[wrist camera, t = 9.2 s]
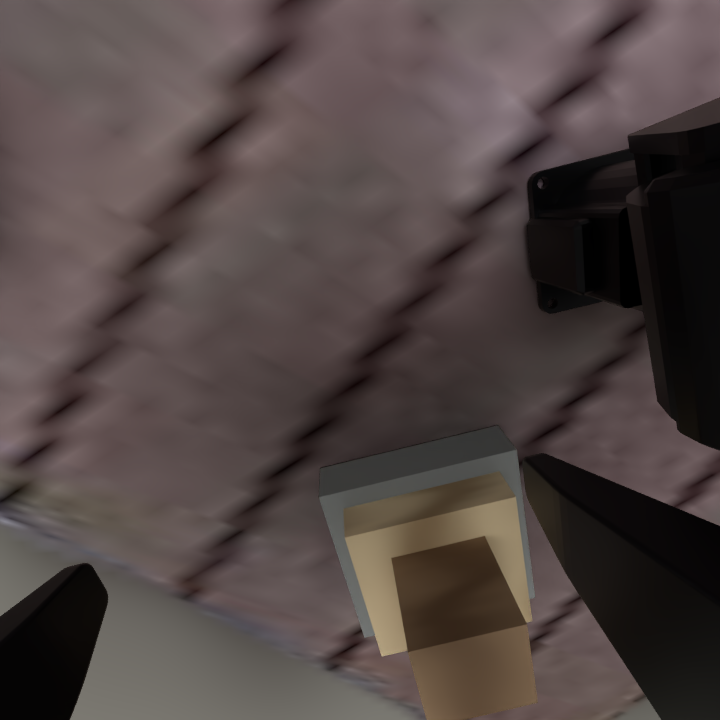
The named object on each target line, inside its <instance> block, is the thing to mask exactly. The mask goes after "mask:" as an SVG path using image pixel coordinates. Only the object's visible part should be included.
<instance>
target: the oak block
mask: <svg viewBox="0 0 720 720" xmlns="http://www.w3.org/2000/svg"><path fill="white" fill-rule="evenodd" d="M343 511H344V534H345V540H346V544H347V547H348V550H349V553H350V556H351V560H352V563H353V566H354V569H355V572H356V576H357V579H358V582H359V585H360V588H361V592H362V595H363V598H364V601H365V604H366V608H367V611H368V614H369V617H370V620H371V623H372V627H373V630H374V633H375V636H376V639H377V643H378V646H379V649H380V652H381V655H382V656H386V655H390V654H395V653H399V652H403V651H408V650H407V644H406V639H405V633H404V627H403V622H402V616H401V610H400V605H399V599H398V593H397V588H396V582H395V576H394V571H393V565H392V559H391V558H394V557H398V556H402V555H406V554H410V553H415V552H419V551H423V550H427V549H432V548H436V547H440V546H444V545H448V544H453V543H457V542H461V541H465V540H469V539H474V538H478V537H482V536H485V538H486V540H487V542H488V544H489V546H490V548H491V550H492V552H493V554H494V556H495V558H496V561H497V563H498V565H499V567H500V569H501V571H502V573H503V575H504V577H505V579H506V581H507V584H508V586H509V588H510V590H511V592H512V594H513V596H514V598H515V600H516V602H517V604H518V607H519V609H520V611H521V613H522V615H523V617H524V619H525V621H526V623H527V622H531V621H532V616H531V608H530V601H529V593H528V586H527V578H526V570H525V563H524V555H523V547H522V540H521V532H520V524H519V517H518V509H517V501H516V496H515V495H514V493H513V492H512V490H511V489H510V487H509V485H508V484H507V482H506V481H505V479H504V478H503V476H502V475H501V473H500V472H499V471H498V472H494V473H490V474H486V475H482V476H478V477H473V478H469V479H465V480H461V481H457V482H453V483H449V484H444V485H440V486H436V487H432V488H428V489H424V490H419V491H415V492H411V493H407V494H403V495H399V496H394V497H390V498H386V499H382V500H378V501H374V502H369V503H365V504H361V505H357V506H353V507H349V508H344V509H343Z"/></svg>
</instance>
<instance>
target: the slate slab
mask: <svg viewBox="0 0 720 720" xmlns="http://www.w3.org/2000/svg"><path fill="white" fill-rule="evenodd" d="M498 471H499V472H500V473H501V475H502V476H503V478H504V479H505V481H506V482H507V484H508V485H509V487H510V489H511V490H512V492H513V493H514V495H515V496H516V501H517V509H518V517H519V524H520V532H521V540H522V547H523V555H524V563H525V570H526V578H527V586H528V593H529V599H531V598H535V593H534V585H533V577H532V569H531V561H530V552H529V544H528V536H527V528H526V520H525V512H524V504H523V496H522V488H521V480H520V472H519V464H518V456H517V449H516V448H515V447H514V446H513V444H512V443H511V442H510V440H509V439H508V438H507V437H506V435H505V434H504V433H503V432H502V430H501V429H500V428H499V426H498V425H497V426H493V427H489V428H485V429H481V430H477V431H472V432H468V433H464V434H460V435H456V436H452V437H448V438H443V439H439V440H435V441H431V442H427V443H423V444H419V445H415V446H410V447H406V448H402V449H398V450H394V451H390V452H386V453H381V454H377V455H373V456H369V457H365V458H361V459H357V460H353V461H348V462H344V463H340V464H336V465H332V466H328V467H324V468H320V479H319V500H320V503H321V506H322V509H323V512H324V515H325V518H326V521H327V524H328V527H329V530H330V533H331V536H332V539H333V542H334V546H335V549H336V552H337V555H338V558H339V561H340V564H341V567H342V570H343V573H344V576H345V579H346V582H347V585H348V588H349V592H350V595H351V598H352V601H353V604H354V607H355V610H356V613H357V616H358V619H359V622H360V625H361V628H362V631H363V634H364V638H365V637H370V636H374V635H375V633H374V630H373V627H372V623H371V620H370V617H369V614H368V611H367V608H366V604H365V601H364V598H363V595H362V592H361V588H360V585H359V582H358V579H357V576H356V572H355V569H354V566H353V563H352V560H351V556H350V553H349V550H348V547H347V544H346V540H345V534H344V511H343V509H344V508H349V507H353V506H357V505H361V504H365V503H369V502H374V501H378V500H382V499H386V498H390V497H394V496H399V495H403V494H407V493H411V492H415V491H419V490H424V489H428V488H432V487H436V486H440V485H444V484H449V483H453V482H457V481H461V480H465V479H469V478H473V477H478V476H482V475H486V474H490V473H494V472H498Z"/></svg>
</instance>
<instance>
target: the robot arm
mask: <svg viewBox="0 0 720 720" xmlns="http://www.w3.org/2000/svg"><path fill="white" fill-rule="evenodd" d="M628 142H629V149H626V150H622V151H618V152H614V153H610V154H606V155H602V156H598V157H594V158H590V159H586V160H582V161H578V162H574V163H570V164H566V165H562V166H559V167H555V168H551V169H547V170H543V171H539V172H536V173H534V174H533V175H532V176H531V177H530V179H529V181H528V192H529V203H530V215H531V220H530V221H529V223H528V225H527V231H528V242H529V253H530V263H531V274H532V277H533V278H534V279H535V280H536V281H537V292H538V303H539V307H540V309H541V310H542V311H544V312H547V313H549V314H551V313H557V312H561V311H565V310H569V309H573V308H577V307H582V306H586V305H590V304H594V303H598V302H602V301H605V302H608V303H611V304H614V305H617V306H620V307H623V308H634V309H637V310H640V311H643V313H644V319H645V325H646V332H647V338H648V344H649V351H650V357H651V364H652V370H653V376H654V383H655V389H656V395H657V402H658V403H659V404H660V405H661V406H662V407H663V409H664V410H665V411H666V412H667V413H668V415H669V416H670V417H671V418H672V419H674V420H675V421H676V423H677V430H678V431H679V432H680V433H682V434H684V435H686V436H688V437H690V438H691V439H693V440H695V441H697V442H699V443H701V444H703V445H706V446H708V447H711V448H714V449H717V450H720V97H719V98H717V99H715V100H712V101H710V102H707V103H705V104H702V105H700V106H698V107H695V108H693V109H690V110H688V111H685V112H683V113H681V114H678V115H676V116H673V117H671V118H668V119H666V120H664V121H661V122H659V123H656V124H654V125H652V126H649V127H647V128H644V129H642V130H639V131H637V132H635V133H632V134H630V135H628ZM540 178H543V179H544V182H545V183H544V186H543V188H542V189H540V188H539V187H538V185H537V183H538V180H539V179H540ZM552 298H553V300H554V302H553V304H552V306H550V307H548V305H547V304H548V301H549V300H550V299H552ZM523 473H524V481H525V490H526V495H527V498H528V501H529V503H530V505H531V507H532V509H533V511H534V513H535V515H536V517H537V519H538V521H539V523H540V524H541V526H542V528H543V530H544V532H545V534H546V536H547V538H548V540H549V542H550V544H551V546H552V548H553V550H554V552H555V554H556V556H557V558H558V560H559V561H560V563H561V565H562V567H563V569H564V571H565V573H566V574H567V576H568V578H569V579H570V581H571V582H572V584H573V586H574V587H575V589H576V590H577V592H578V593H579V595H580V596H581V598H582V599H583V601H584V602H585V604H586V605H587V607H588V608H589V610H590V612H591V613H592V615H593V616H594V618H595V619H596V621H597V622H598V624H599V625H600V627H601V628H602V630H603V631H604V633H605V634H606V636H607V638H608V639H609V641H610V642H611V644H612V645H613V647H614V648H615V650H616V651H617V653H618V654H619V656H620V657H621V659H622V660H623V662H624V663H625V665H626V667H627V668H628V670H629V671H630V673H631V674H632V676H633V677H634V679H635V680H636V682H637V683H638V685H639V686H640V688H641V689H642V691H643V692H644V694H645V696H646V697H647V699H648V700H649V702H650V703H651V705H652V706H653V708H654V709H655V711H656V712H657V714H658V715H659V717H660V718H661V720H720V526H718V525H716V524H714V523H711V522H709V521H706V520H704V519H701V518H699V517H697V516H694V515H692V514H689V513H687V512H685V511H682V510H680V509H677V508H675V507H673V506H670V505H668V504H665V503H663V502H661V501H658V500H656V499H653V498H651V497H649V496H646V495H644V494H641V493H639V492H636V491H634V490H632V489H629V488H627V487H624V486H622V485H620V484H617V483H615V482H612V481H610V480H608V479H605V478H603V477H600V476H598V475H596V474H593V473H591V472H588V471H586V470H584V469H581V468H579V467H576V466H574V465H571V464H569V463H567V462H564V461H562V460H559V459H557V458H555V457H552V456H550V455H547V454H544V453H540V454H536V455H532V456H527V457H525V458H524V459H523ZM107 603H108V594H107V591H106V589H105V587H104V585H103V584H102V582H101V580H100V578H99V577H98V575H97V573H96V572H95V570H94V568H93V567H92V566H91V565H90V564H88V563H82V564H78V565H74V566H70V567H67V568H64V569H63V570H62V571H60V572H59V573H58V574H56V575H55V576H54V577H52V578H51V579H50V580H48V581H47V582H46V583H44V584H43V585H42V586H40V587H39V588H38V589H36V590H35V591H34V592H32V593H31V594H30V595H28V596H27V597H26V598H24V599H23V600H22V601H20V602H19V603H18V604H16V605H15V606H14V607H12V608H11V609H10V610H8V611H7V612H6V613H4V614H3V615H2V616H0V720H70V718H71V716H72V713H73V711H74V708H75V705H76V703H77V700H78V698H79V695H80V692H81V689H82V686H83V683H84V680H85V677H86V674H87V670H88V668H89V664H90V661H91V658H92V654H93V651H94V648H95V644H96V641H97V637H98V634H99V631H100V628H101V624H102V621H103V618H104V614H105V611H106V608H107Z"/></svg>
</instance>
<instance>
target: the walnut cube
mask: <svg viewBox="0 0 720 720" xmlns="http://www.w3.org/2000/svg"><path fill="white" fill-rule="evenodd" d="M391 559H392V565H393V571H394V576H395V582H396V588H397V593H398V599H399V605H400V610H401V616H402V622H403V627H404V633H405V639H406V644H407V650H408V654H409V658H410V661H411V665H412V669H413V672H414V676H415V679H416V683H417V686H418V690H419V694H420V697H421V701H422V704H423V708H424V711H425V715H426V719H427V720H465V719H469V718H474V717H478V716H482V715H487V714H491V713H495V712H500V711H504V710H508V709H513V708H517V707H521V706H526V705H530V704H534V703H538V702H537V694H536V687H535V680H534V672H533V665H532V658H531V650H530V643H529V635H528V628H527V623H526V621H525V619H524V617H523V615H522V613H521V611H520V609H519V607H518V604H517V602H516V600H515V598H514V596H513V594H512V592H511V590H510V588H509V586H508V584H507V581H506V579H505V577H504V575H503V573H502V571H501V569H500V567H499V565H498V563H497V561H496V558H495V556H494V554H493V552H492V550H491V548H490V546H489V544H488V542H487V540H486V538H485V536H482V537H478V538H474V539H469V540H465V541H461V542H457V543H453V544H448V545H444V546H440V547H436V548H432V549H427V550H423V551H419V552H415V553H410V554H406V555H402V556H398V557H394V558H391Z"/></svg>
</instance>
